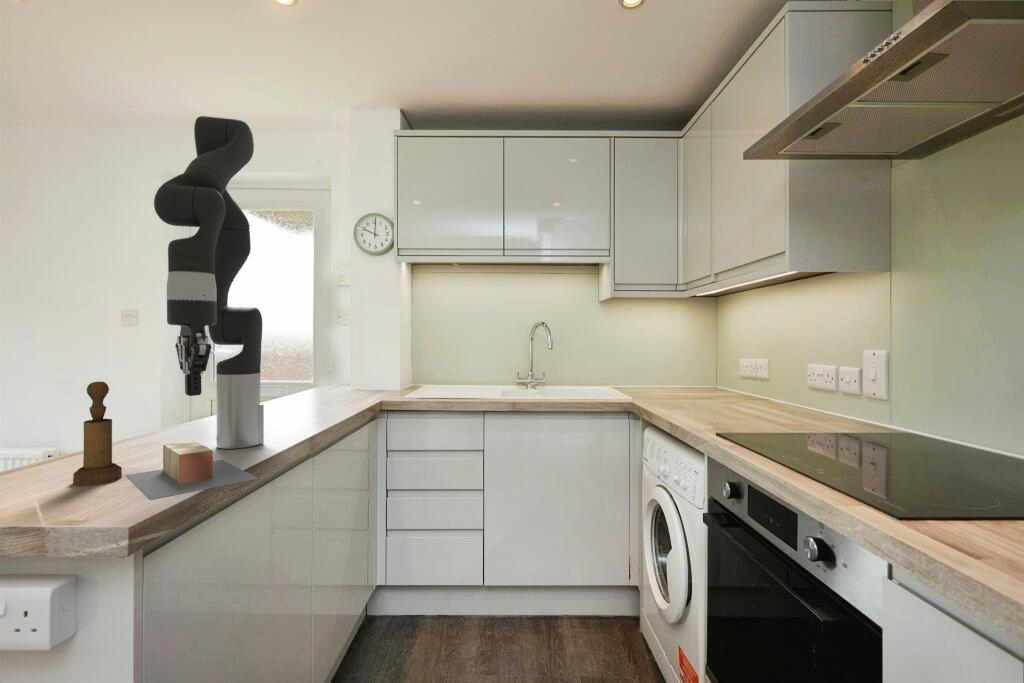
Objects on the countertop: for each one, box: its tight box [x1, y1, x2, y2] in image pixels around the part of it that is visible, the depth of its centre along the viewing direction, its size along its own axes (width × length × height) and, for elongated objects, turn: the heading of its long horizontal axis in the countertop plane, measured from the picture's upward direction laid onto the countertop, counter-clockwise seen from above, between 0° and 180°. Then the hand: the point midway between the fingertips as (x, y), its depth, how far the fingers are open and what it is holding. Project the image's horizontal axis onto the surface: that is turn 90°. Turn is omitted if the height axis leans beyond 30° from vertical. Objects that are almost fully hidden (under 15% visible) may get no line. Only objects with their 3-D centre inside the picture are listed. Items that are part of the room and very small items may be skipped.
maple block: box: [162, 440, 214, 484], centre depth 91 cm, size 5×5×12 cm
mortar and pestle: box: [72, 381, 123, 487], centre depth 87 cm, size 7×6×18 cm
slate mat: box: [125, 459, 259, 501], centre depth 89 cm, size 16×20×1 cm
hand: (193, 395), depth 89 cm, fingers closed
